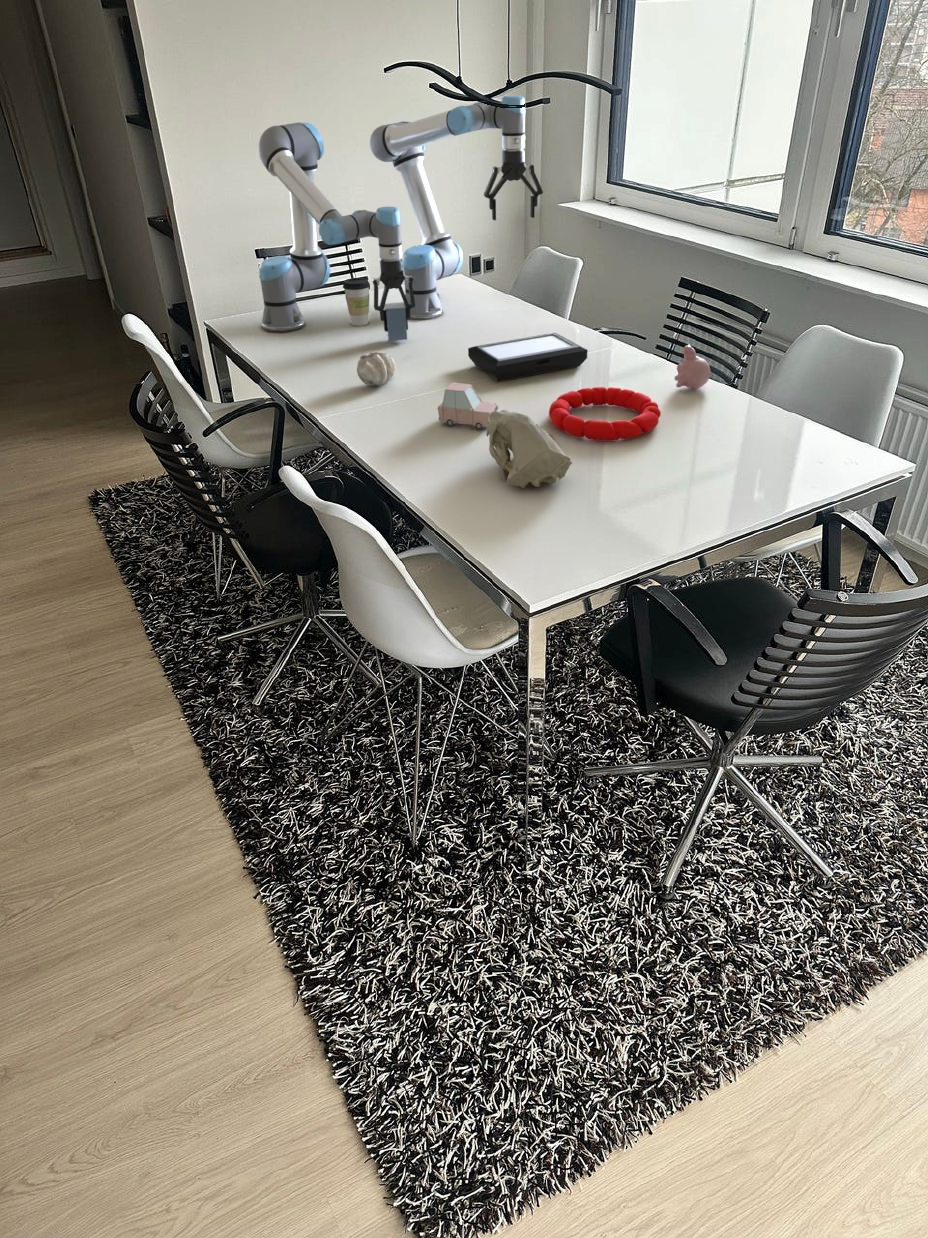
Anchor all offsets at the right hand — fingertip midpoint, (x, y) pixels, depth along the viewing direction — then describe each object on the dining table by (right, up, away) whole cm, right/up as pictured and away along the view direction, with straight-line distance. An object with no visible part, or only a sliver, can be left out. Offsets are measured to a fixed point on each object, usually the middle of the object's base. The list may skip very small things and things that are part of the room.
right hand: (513, 218), depth 308 cm
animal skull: (-3, -102, -88) cm, 135 cm away
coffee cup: (-55, -30, +19) cm, 66 cm away
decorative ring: (+21, -85, -64) cm, 109 cm away
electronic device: (+3, -59, -25) cm, 64 cm away
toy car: (-16, -85, -62) cm, 107 cm away
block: (-40, -42, -1) cm, 58 cm away
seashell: (-43, -67, -35) cm, 88 cm away
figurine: (+50, -71, -46) cm, 98 cm away
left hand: (-40, -39, -3) cm, 56 cm away
